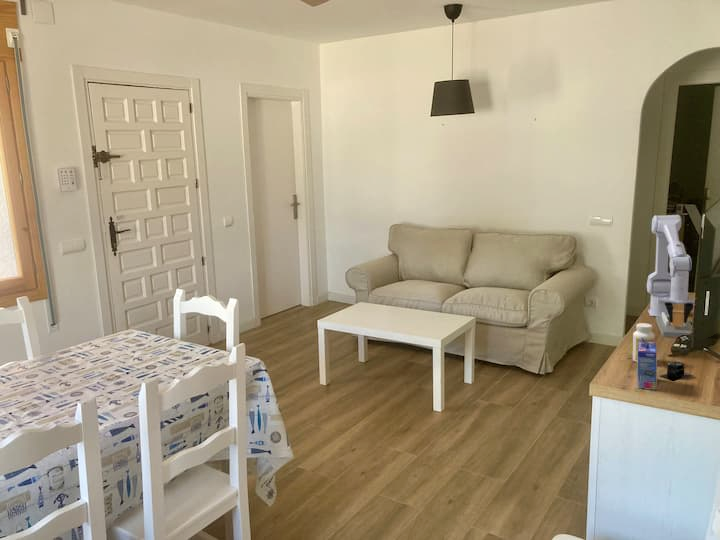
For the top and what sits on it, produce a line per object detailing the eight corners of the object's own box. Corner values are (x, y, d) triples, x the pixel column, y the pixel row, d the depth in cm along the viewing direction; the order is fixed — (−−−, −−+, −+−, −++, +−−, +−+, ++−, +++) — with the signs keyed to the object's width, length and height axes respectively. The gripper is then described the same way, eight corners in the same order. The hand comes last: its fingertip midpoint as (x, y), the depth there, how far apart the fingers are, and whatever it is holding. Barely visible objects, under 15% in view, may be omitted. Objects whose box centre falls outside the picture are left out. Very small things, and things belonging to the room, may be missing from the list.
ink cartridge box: (636, 376, 183) (637, 333, 180) (655, 378, 180) (657, 334, 178) (636, 388, 174) (637, 343, 171) (657, 390, 172) (658, 344, 169)
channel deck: (655, 320, 237) (656, 311, 237) (685, 321, 234) (686, 312, 233) (663, 337, 217) (663, 327, 217) (696, 338, 213) (696, 328, 213)
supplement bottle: (657, 364, 192) (659, 327, 189) (637, 365, 192) (638, 328, 189) (648, 357, 198) (649, 321, 196) (629, 358, 198) (629, 322, 196)
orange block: (670, 322, 223) (671, 310, 222) (682, 323, 222) (682, 310, 221) (672, 325, 219) (672, 313, 218) (683, 326, 218) (684, 313, 217)
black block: (671, 385, 176) (672, 371, 175) (651, 377, 183) (651, 364, 182) (699, 376, 181) (699, 363, 180) (678, 369, 187) (678, 356, 186)
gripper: (659, 289, 215) (658, 324, 218) (703, 290, 210) (701, 325, 213) (656, 285, 222) (655, 319, 224) (699, 286, 216) (698, 320, 219)
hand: (677, 322), depth 219 cm, fingers closed on orange block, 4 cm apart
